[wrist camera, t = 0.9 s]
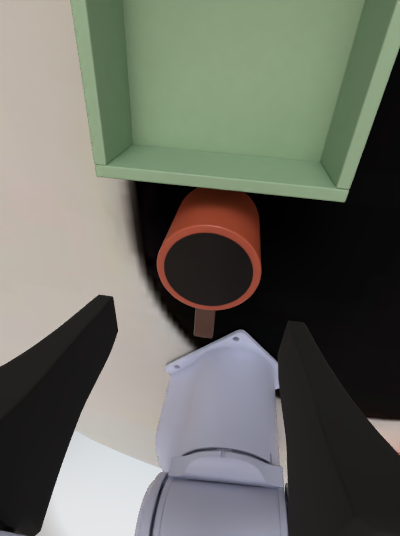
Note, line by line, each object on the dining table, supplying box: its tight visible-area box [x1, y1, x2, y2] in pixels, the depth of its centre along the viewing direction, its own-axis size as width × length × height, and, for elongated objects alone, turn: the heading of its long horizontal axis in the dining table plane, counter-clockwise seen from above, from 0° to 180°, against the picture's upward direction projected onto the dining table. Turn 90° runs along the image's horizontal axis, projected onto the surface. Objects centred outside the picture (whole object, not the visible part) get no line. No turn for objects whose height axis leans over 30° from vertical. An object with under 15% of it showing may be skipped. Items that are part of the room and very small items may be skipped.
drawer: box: [70, 0, 400, 202], centre depth 12 cm, size 13×12×4 cm
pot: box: [157, 187, 261, 338], centre depth 19 cm, size 8×5×6 cm, turn 177°
